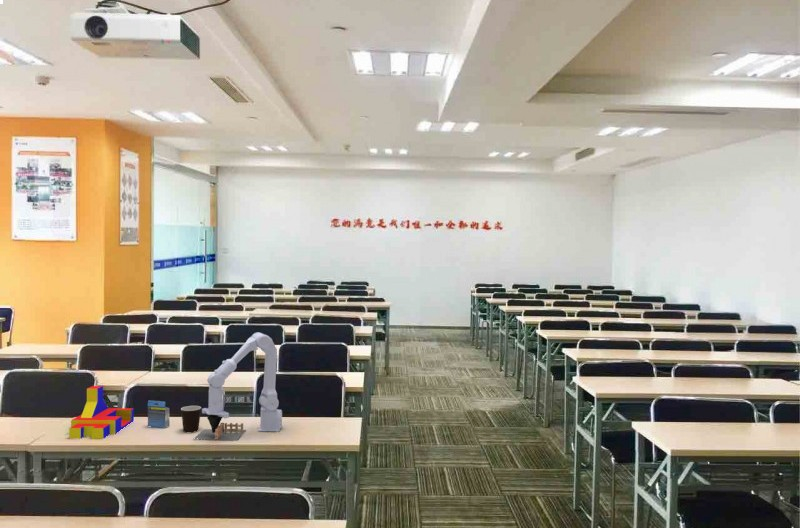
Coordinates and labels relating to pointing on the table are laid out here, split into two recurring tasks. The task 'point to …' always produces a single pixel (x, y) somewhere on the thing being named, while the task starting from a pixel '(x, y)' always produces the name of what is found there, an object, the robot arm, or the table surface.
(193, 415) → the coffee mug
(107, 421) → the building blocks toy
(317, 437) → the table surface
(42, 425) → the table surface
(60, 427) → the table surface
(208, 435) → the mat
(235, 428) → the fixed fence
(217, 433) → the fence panel
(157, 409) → the label tape box
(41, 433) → the table surface
